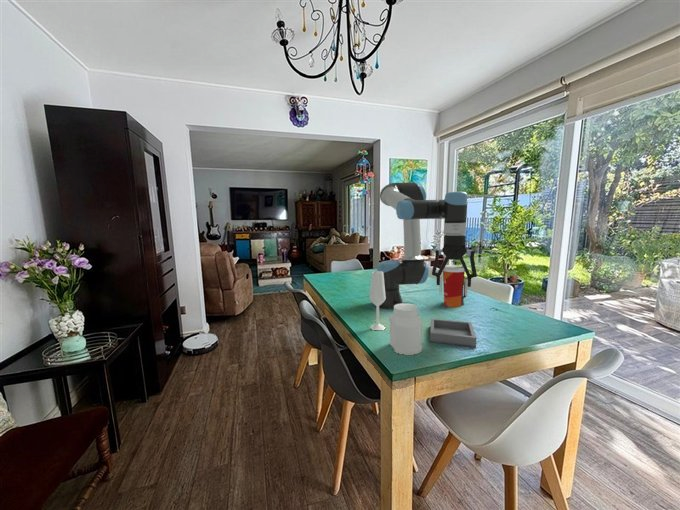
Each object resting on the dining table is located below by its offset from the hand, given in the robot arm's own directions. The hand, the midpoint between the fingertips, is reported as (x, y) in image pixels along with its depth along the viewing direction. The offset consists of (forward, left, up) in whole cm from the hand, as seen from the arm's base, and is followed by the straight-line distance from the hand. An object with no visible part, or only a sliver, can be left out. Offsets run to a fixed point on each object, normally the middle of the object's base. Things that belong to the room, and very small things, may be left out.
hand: (452, 294), depth 104 cm
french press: (+4, +44, -17) cm, 47 cm away
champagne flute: (-29, 0, -17) cm, 34 cm away
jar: (-16, -15, -17) cm, 28 cm away
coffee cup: (0, 0, -4) cm, 4 cm away
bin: (0, 0, -17) cm, 17 cm away
